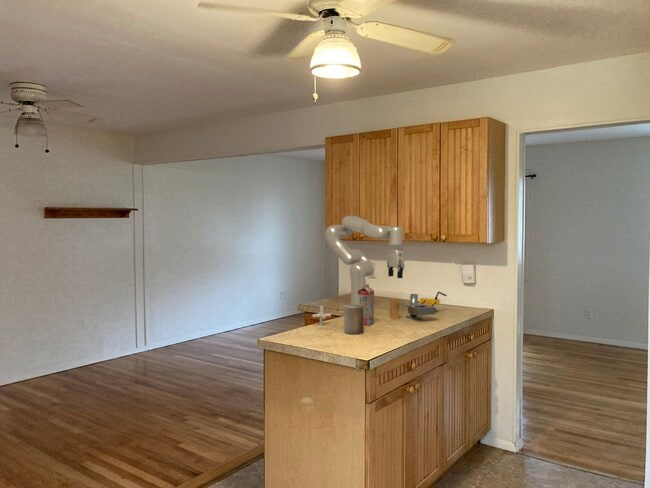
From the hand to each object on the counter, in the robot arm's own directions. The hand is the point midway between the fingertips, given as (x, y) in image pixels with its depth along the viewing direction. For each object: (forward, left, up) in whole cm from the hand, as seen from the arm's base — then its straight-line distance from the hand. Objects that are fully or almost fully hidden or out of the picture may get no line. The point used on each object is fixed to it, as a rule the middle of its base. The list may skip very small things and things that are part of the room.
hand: (395, 277), depth 292 cm
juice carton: (-24, -9, -24) cm, 36 cm away
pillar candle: (-39, -24, -24) cm, 52 cm away
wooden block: (0, 0, -24) cm, 24 cm away
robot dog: (+34, +10, -24) cm, 43 cm away
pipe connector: (-46, 0, -24) cm, 53 cm away
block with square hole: (+12, -6, -24) cm, 28 cm away
